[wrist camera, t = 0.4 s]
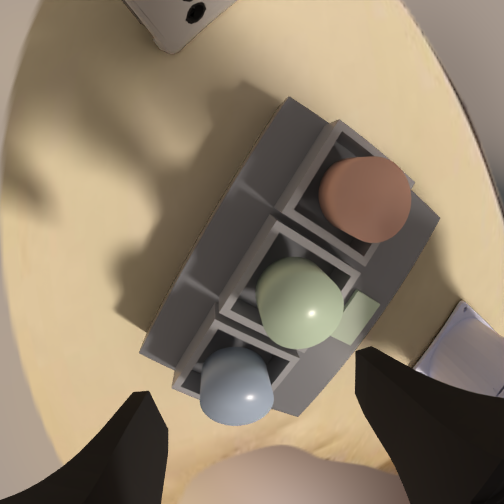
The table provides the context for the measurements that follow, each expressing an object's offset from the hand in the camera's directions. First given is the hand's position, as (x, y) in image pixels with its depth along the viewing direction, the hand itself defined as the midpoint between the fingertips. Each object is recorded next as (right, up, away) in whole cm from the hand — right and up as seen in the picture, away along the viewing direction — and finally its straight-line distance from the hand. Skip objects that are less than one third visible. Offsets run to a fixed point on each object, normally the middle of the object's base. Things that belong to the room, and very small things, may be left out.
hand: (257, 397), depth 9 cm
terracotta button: (+5, +8, +5) cm, 10 cm away
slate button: (-1, -2, +6) cm, 7 cm away
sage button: (+2, +3, +5) cm, 6 cm away
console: (+2, +4, +10) cm, 11 cm away
